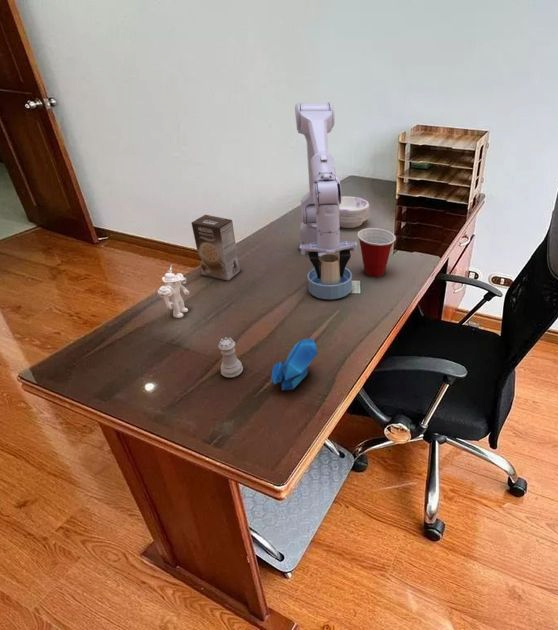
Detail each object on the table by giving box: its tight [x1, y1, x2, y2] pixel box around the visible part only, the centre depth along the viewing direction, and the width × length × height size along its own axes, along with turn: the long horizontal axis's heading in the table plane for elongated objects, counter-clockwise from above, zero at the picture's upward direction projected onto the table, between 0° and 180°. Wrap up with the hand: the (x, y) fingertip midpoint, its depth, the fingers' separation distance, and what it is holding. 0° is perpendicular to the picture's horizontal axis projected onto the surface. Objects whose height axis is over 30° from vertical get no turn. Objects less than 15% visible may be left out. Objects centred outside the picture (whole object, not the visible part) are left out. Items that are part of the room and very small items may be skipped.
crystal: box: [270, 338, 319, 391], centre depth 88 cm, size 7×9×12 cm
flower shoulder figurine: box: [157, 264, 190, 319], centre depth 105 cm, size 9×4×12 cm, turn 169°
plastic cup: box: [357, 227, 396, 278], centre depth 126 cm, size 11×11×12 cm
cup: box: [319, 253, 340, 285], centre depth 117 cm, size 6×6×7 cm
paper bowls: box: [338, 195, 370, 229], centre depth 158 cm, size 15×15×8 cm
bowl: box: [306, 267, 353, 300], centre depth 119 cm, size 12×12×4 cm
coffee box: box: [191, 214, 241, 281], centre depth 122 cm, size 9×6×16 cm
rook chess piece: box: [217, 336, 244, 379], centre depth 89 cm, size 4×4×8 cm
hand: (329, 276), depth 118 cm, fingers closed on cup, 5 cm apart
